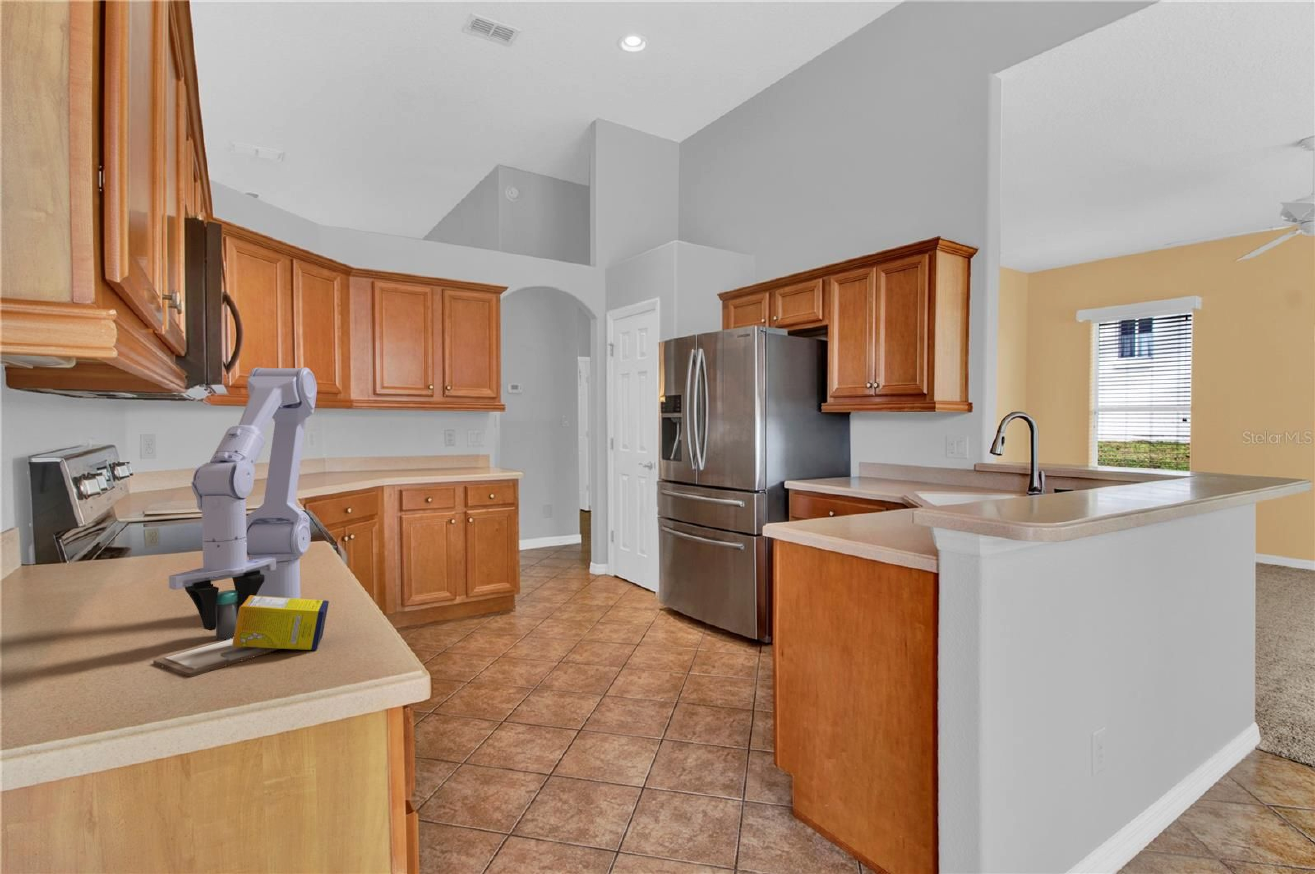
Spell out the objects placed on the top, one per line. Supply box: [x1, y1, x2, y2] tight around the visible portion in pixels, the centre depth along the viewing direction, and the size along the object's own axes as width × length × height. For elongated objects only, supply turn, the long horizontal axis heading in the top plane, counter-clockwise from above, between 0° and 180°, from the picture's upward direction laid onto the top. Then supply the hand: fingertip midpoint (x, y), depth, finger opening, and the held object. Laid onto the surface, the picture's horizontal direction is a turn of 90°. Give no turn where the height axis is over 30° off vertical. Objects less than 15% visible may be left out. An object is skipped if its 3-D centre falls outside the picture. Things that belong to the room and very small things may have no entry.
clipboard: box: [152, 638, 281, 678], centre depth 93 cm, size 10×16×1 cm, turn 151°
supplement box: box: [232, 595, 330, 651], centre depth 94 cm, size 6×6×11 cm
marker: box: [215, 589, 238, 641], centre depth 99 cm, size 3×3×7 cm
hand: (226, 624), depth 99 cm, fingers open, 4 cm apart
